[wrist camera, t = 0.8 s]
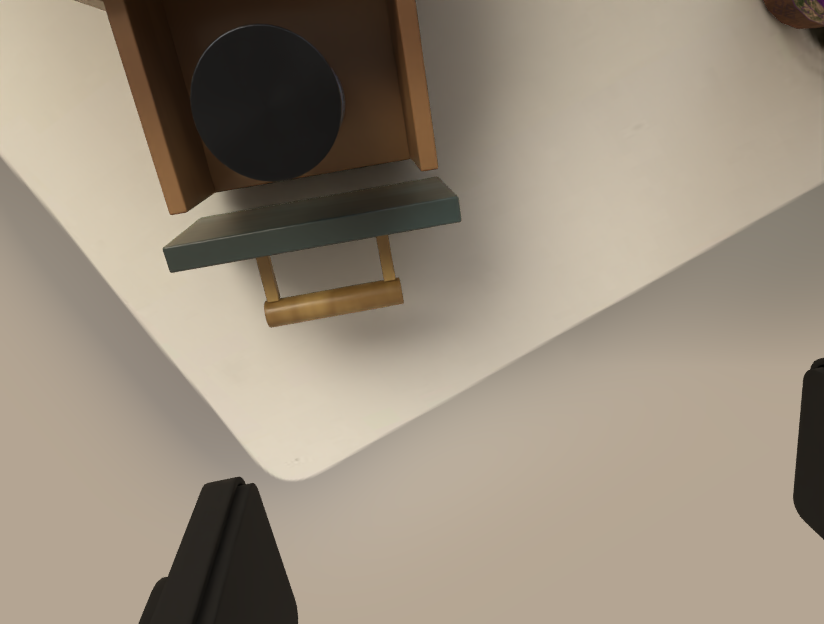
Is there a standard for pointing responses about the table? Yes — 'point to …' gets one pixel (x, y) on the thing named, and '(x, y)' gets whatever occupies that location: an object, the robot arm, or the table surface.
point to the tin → (266, 102)
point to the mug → (798, 12)
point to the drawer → (353, 148)
